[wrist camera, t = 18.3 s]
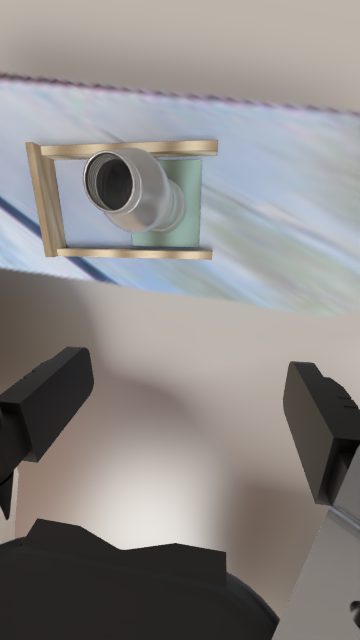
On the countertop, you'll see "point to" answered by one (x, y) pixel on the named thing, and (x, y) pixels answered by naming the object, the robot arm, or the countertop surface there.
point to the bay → (182, 236)
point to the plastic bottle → (134, 190)
